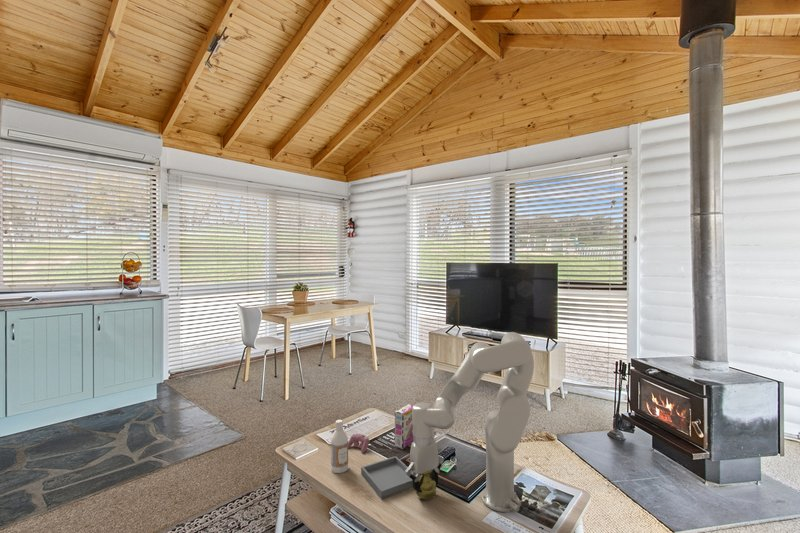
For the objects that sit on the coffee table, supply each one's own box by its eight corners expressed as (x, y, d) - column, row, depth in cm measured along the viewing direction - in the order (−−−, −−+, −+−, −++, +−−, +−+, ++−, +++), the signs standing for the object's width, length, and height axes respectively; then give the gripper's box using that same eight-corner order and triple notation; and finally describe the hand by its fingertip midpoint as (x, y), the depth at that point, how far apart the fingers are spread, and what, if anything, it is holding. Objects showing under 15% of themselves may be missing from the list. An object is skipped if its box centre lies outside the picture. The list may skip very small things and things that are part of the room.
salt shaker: (412, 497, 134) (411, 469, 133) (420, 485, 140) (419, 458, 140) (432, 501, 131) (431, 473, 130) (439, 489, 137) (437, 462, 137)
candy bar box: (403, 450, 168) (403, 414, 167) (394, 446, 171) (394, 411, 170) (417, 440, 177) (416, 405, 177) (408, 437, 180) (407, 403, 179)
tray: (419, 485, 142) (419, 477, 142) (381, 499, 134) (381, 491, 134) (396, 462, 158) (395, 455, 157) (361, 474, 150) (361, 467, 150)
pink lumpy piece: (368, 453, 168) (372, 437, 171) (362, 453, 165) (366, 436, 167) (351, 448, 173) (355, 432, 176) (345, 447, 170) (349, 431, 172)
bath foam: (335, 475, 149) (334, 426, 148) (328, 467, 155) (327, 420, 154) (351, 470, 153) (350, 421, 152) (343, 462, 158) (343, 415, 158)
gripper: (437, 428, 143) (439, 473, 143) (397, 441, 134) (399, 489, 134) (449, 436, 136) (451, 483, 137) (408, 450, 128) (410, 501, 128)
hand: (425, 486), depth 136 cm, fingers closed on salt shaker, 7 cm apart
